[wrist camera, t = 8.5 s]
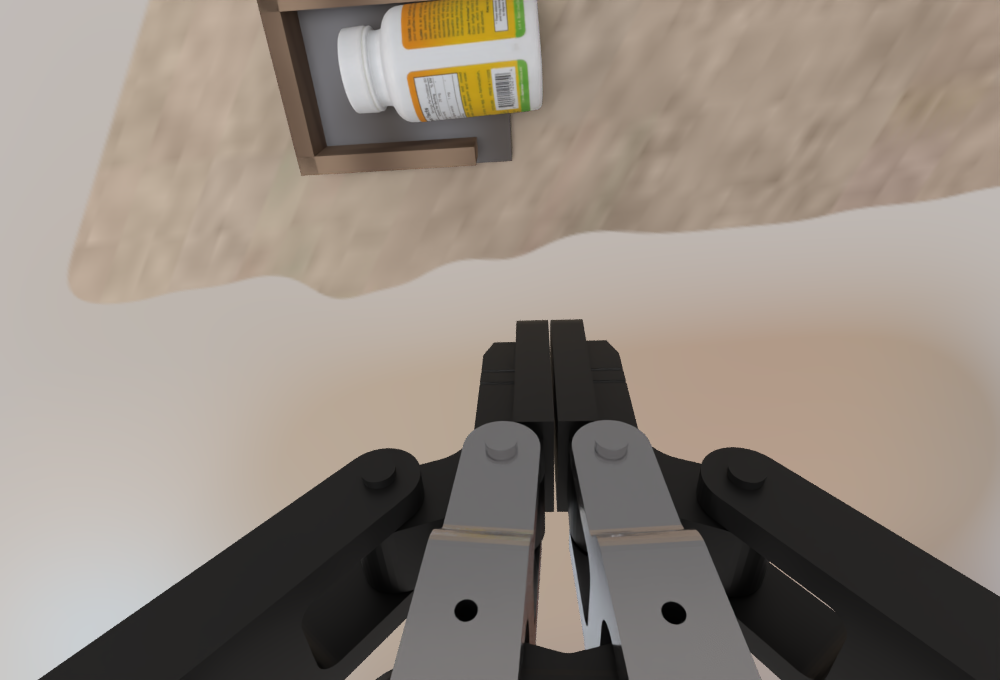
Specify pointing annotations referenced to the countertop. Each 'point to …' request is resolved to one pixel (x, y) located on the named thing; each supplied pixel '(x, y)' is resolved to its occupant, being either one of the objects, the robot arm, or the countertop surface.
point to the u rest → (331, 118)
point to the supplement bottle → (445, 60)
